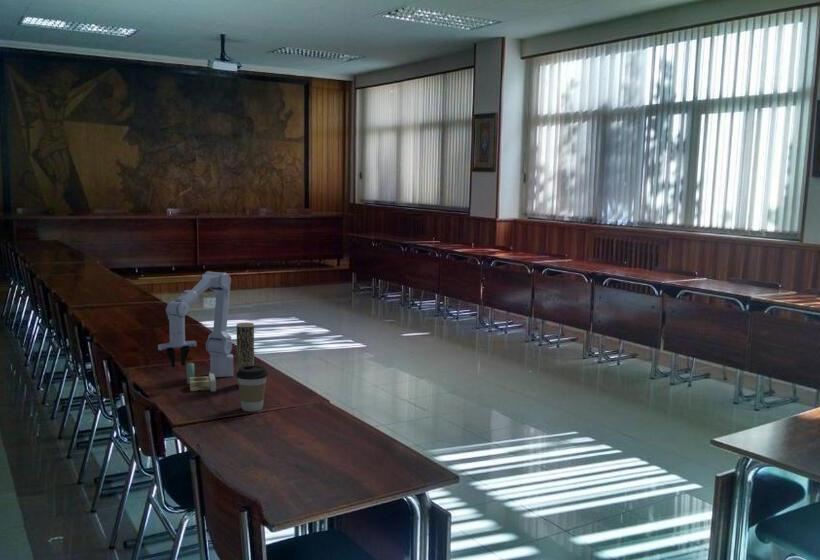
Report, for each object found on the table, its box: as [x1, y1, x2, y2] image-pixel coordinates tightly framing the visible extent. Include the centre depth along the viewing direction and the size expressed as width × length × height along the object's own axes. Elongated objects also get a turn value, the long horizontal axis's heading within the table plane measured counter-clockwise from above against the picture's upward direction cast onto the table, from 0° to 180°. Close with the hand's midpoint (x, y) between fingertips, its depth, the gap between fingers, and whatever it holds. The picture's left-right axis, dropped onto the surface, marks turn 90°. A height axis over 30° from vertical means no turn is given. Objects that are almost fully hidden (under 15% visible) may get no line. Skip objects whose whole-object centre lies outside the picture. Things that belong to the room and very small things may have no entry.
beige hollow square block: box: [189, 375, 211, 392], centre depth 295 cm, size 8×8×4 cm
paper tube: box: [236, 322, 255, 387], centre depth 299 cm, size 7×7×25 cm
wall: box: [208, 373, 217, 392], centre depth 296 cm, size 2×12×4 cm, turn 18°
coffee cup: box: [235, 364, 269, 413], centre depth 269 cm, size 11×11×15 cm
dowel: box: [186, 362, 196, 385], centre depth 301 cm, size 3×3×8 cm
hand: (177, 366), depth 291 cm, fingers open, 3 cm apart
